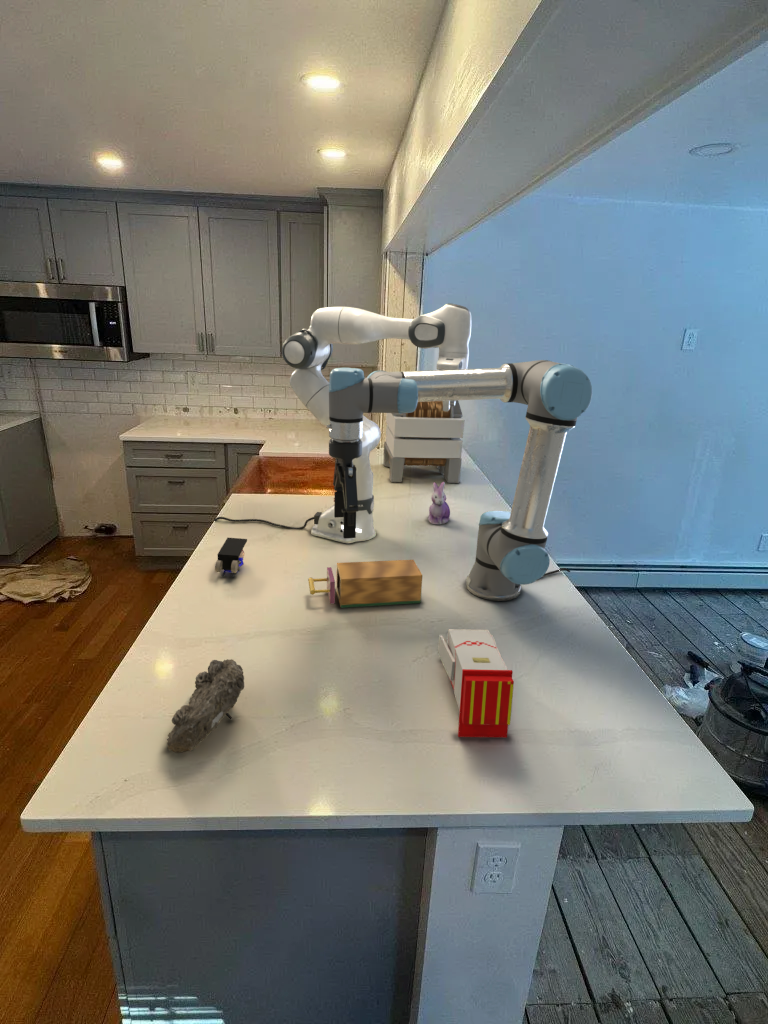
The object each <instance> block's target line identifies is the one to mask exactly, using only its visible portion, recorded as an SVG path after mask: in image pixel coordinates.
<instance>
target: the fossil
mask: <svg viewBox="0 0 768 1024" xmlns="http://www.w3.org/2000/svg"><path fill="white" fill-rule="evenodd" d="M243 670H244V669H243V667H242V665H240V664H237V662H236V661H235V660H234V659H232V658H231V659H227V658H226V659H224V660H223V661H222V660H217V659H212V660H211V661H210V663H209V665H208V666H207V671H201V672H199V673H198V674H197V675H196V676H195V680H194V684H195V685H194V687H195V689H194V690H193V693H192V694H191V697H190V698H189V700H188V704H184V705H182V706H181V707H180V709H177V710H176V711H175V713H174V715H173V716H172V718H171V723H172V724H173V727H172V730H171V731H170V732H168V734H167V738H166V741H167V742H166V745H167V749H168V750H169V751H173V752H174V753H176V754H178V753H182V752H188V751H189V752H192V751H193V750H195V748H196V747H197V746H199V744H200V743H201V742H203V741H204V740H205V739H206V738H207V737H208V736H209V735H210V734H211V733H212V732H214V730H215V729H217V727H218V726H219V724H220V722H221V721H222V720H223V719H224V718H225V716H226V717H227V719H229V720H233V717H232V715H230V714H229V710H230V709H231V708H234V706H235V704H236V703H237V702H238V699H239V697H240V695H241V693H242V691H243V690H245V689H244V688H245V675H244V671H243Z"/></svg>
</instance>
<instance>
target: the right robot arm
mask: <svg viewBox="0 0 768 1024" xmlns="http://www.w3.org/2000/svg"><path fill="white" fill-rule="evenodd" d="M364 372H365V371H364V370H363V369H362V368H357V367H336V368H335V367H334V368H333V369H331V371H330V372H329V380H328V382H329V422H330V424H328V425H326V426H327V427H326V426H325V427H326V429H327V430H328V436H329V438H330V439H329V440H328V455H329V456H330V457H331V458H333V459H334V460H335V461H334V470H333V481H332V485H333V490H334V491H333V492H334V494H333V495H334V497H333V503H334V504H333V505H334V517H335V518H337V517H344V523H343V538H344V539H345V538H356V512H358V510H359V508H358V498H357V483H356V470H357V469H356V467H355V465H353V462H352V460H353V459H355V458H359V457H361V455H362V441H361V440H360V439H361V438H362V437H363V415H364V414H374V413H375V414H379V413H380V414H386V413H399V414H402V413H412V412H414V411H415V409H416V407H417V402H430V401H455V400H458V401H476V400H477V401H478V400H500V401H501V402H502V403H506V404H507V403H516V404H521V405H526V406H527V407H526V413H525V417H524V418H525V420H526V422H527V423H528V424H529V429H528V433H527V438H526V442H525V447H524V453H523V456H522V460H521V465H520V470H519V474H518V477H517V483H516V488H515V492H514V497H513V501H512V505H511V510H510V511H506V510H490V511H485V512H483V513H482V514H481V515H480V518H479V522H478V532H477V541H476V551H475V560H474V564H473V566H472V568H471V570H470V572H469V574H468V575H467V576H466V578H465V581H466V584H465V585H466V589H467V590H468V591H469V592H470V593H471V594H472V595H474V596H476V597H477V598H481V599H484V600H487V601H493V602H505V601H506V602H507V601H511V600H514V599H516V598H517V597H519V596H520V594H521V590H522V589H521V588H522V585H523V586H524V585H529V584H533V583H535V582H536V581H538V580H540V579H541V578H543V577H546V576H549V575H552V574H557V573H559V572H563V571H565V572H567V573H571V570H570V569H569V568H567V567H562V568H559V570H560V571H559V570H558V569H556V570H552V571H549V572H547V571H548V569H549V567H550V561H551V559H550V555H549V552H548V551H547V550H546V545H547V541H548V537H549V532H548V530H547V529H546V528H545V524H546V523H545V522H546V518H547V514H548V510H549V507H550V502H551V498H552V494H553V490H554V485H555V482H556V477H557V473H558V470H559V465H560V463H561V462H560V461H561V457H562V454H563V450H564V445H565V441H566V437H567V434H568V432H570V431H571V430H573V429H575V427H576V424H577V420H578V418H580V417H581V416H582V414H583V413H585V412H587V410H588V408H589V407H590V405H591V402H592V398H593V386H592V382H591V379H590V378H589V376H588V375H587V373H585V371H583V370H582V369H580V368H578V367H577V366H574V365H572V364H568V363H561V362H556V361H552V360H549V359H548V360H547V359H537V360H530V361H521V362H510V363H509V362H508V363H502V364H501V366H500V367H490V368H489V367H487V368H467V369H457V370H437V369H433V370H431V369H430V370H429V369H428V370H403V371H386V370H382V369H381V370H374V371H372V372H371V373H370V374H368V375H367V377H365V373H364ZM349 506H350V507H349Z"/></svg>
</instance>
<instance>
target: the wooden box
mask: <svg viewBox="0 0 768 1024" xmlns="http://www.w3.org/2000/svg"><path fill="white" fill-rule="evenodd" d="M337 569H338V573H339V576H340V580H341V588H340V599H339V595H338V591H337V577H336V578H335V579H336V581H335V592H336V595H337V600H338V603H339V607H340V608H341V609H343V608H359V607H360V608H361V607H375V606H391V605H395V606H396V605H410V604H421V603H422V588H423V587H422V586H423V573H422V571H421V570H420V568H419V566H418V565H417V563H416V561H415V560H414V559H396V560H395V559H394V560H375V561H370V560H369V561H350V562H349V561H348V562H336V570H337Z"/></svg>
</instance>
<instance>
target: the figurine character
mask: <svg viewBox="0 0 768 1024" xmlns="http://www.w3.org/2000/svg"><path fill="white" fill-rule="evenodd" d="M247 542H248V538H240V537H226V539H225V541H224V543H223V544H222V546H221V547H220V549H219V551H218V552H217V560H216V562H215V564H214V572H215V573H221V577H222V578H224V577H225V576H226V574H227V573H230V574H231V573H232V574H231V578H234V577H235V575H236V573H237V572H239V571H240V567H242V566H243V565H244V564H245V562H244V558H245V551H244V547H245V546H246V544H247Z"/></svg>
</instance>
